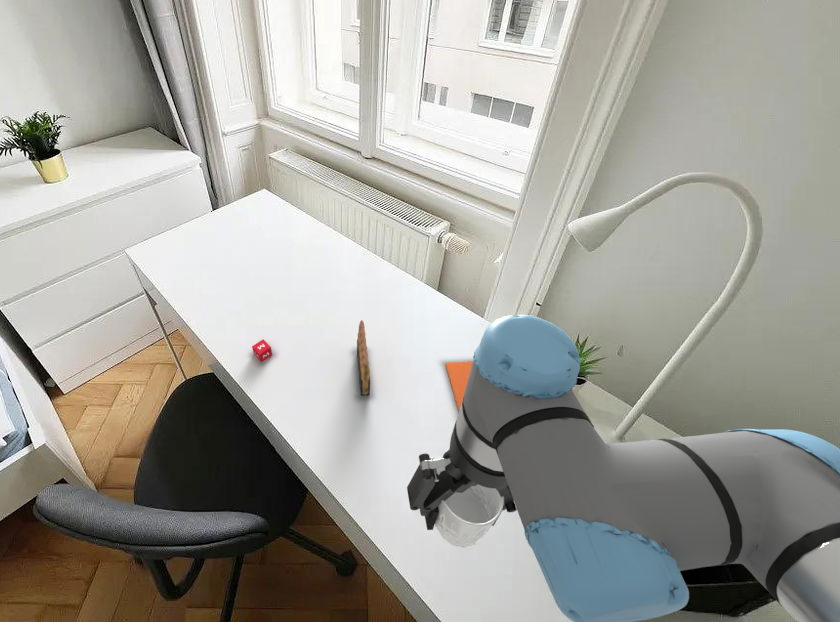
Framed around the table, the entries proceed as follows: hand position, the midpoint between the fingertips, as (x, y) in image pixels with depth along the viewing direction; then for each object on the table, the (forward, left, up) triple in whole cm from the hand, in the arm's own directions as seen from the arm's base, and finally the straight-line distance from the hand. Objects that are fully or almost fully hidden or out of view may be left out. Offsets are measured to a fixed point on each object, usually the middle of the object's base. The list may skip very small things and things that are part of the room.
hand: (457, 516), depth 56 cm
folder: (+24, -15, -11) cm, 30 cm away
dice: (+37, +32, -12) cm, 50 cm away
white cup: (0, 0, 0) cm, 1 cm away
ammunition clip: (+31, +10, -12) cm, 35 cm away
